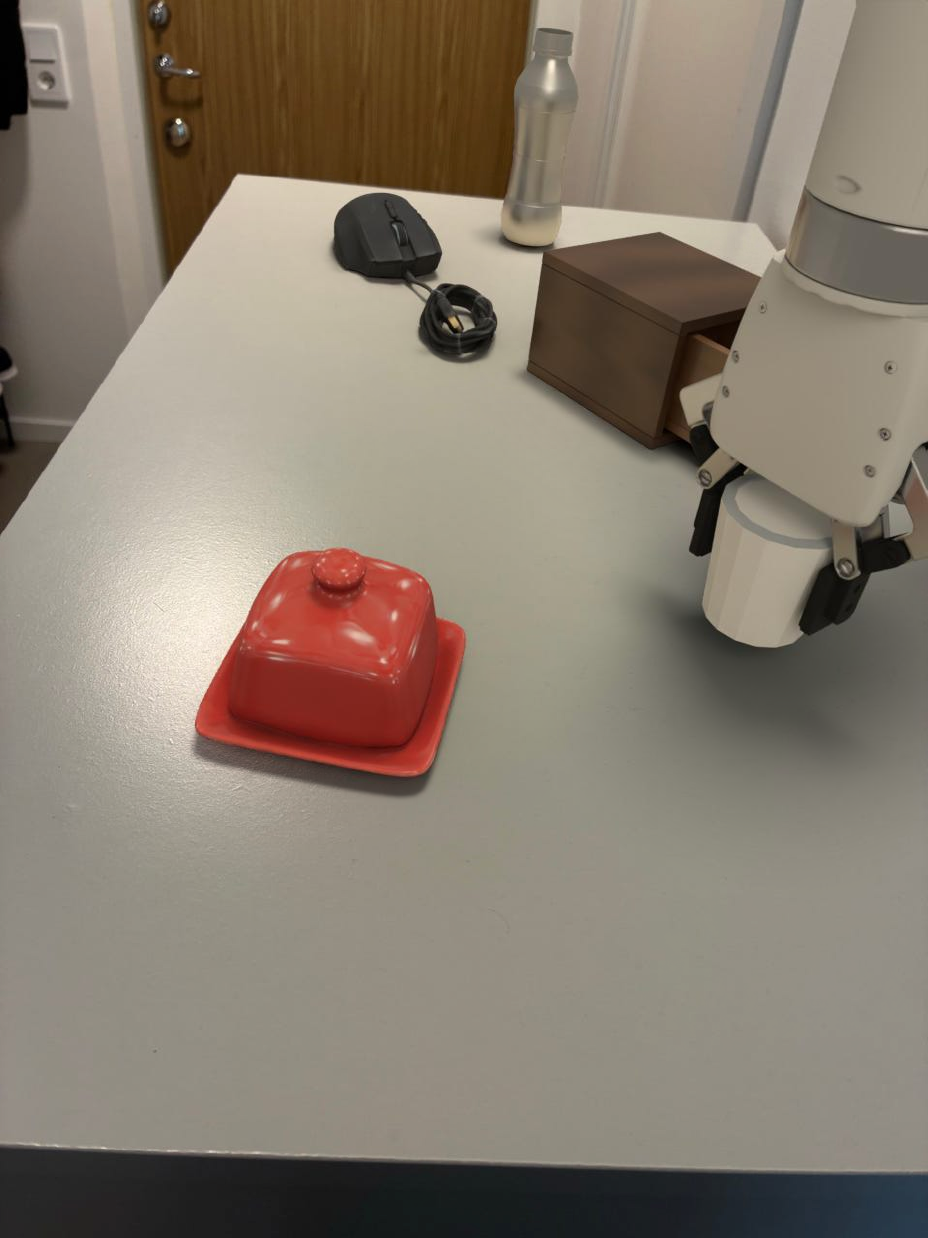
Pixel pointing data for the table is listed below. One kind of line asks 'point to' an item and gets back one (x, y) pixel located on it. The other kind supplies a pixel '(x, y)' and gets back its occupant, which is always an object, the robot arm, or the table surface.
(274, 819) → the table surface
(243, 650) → the butter dish
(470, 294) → the computer mouse
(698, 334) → the drawer
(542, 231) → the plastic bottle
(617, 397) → the cabinet
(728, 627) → the white cup
